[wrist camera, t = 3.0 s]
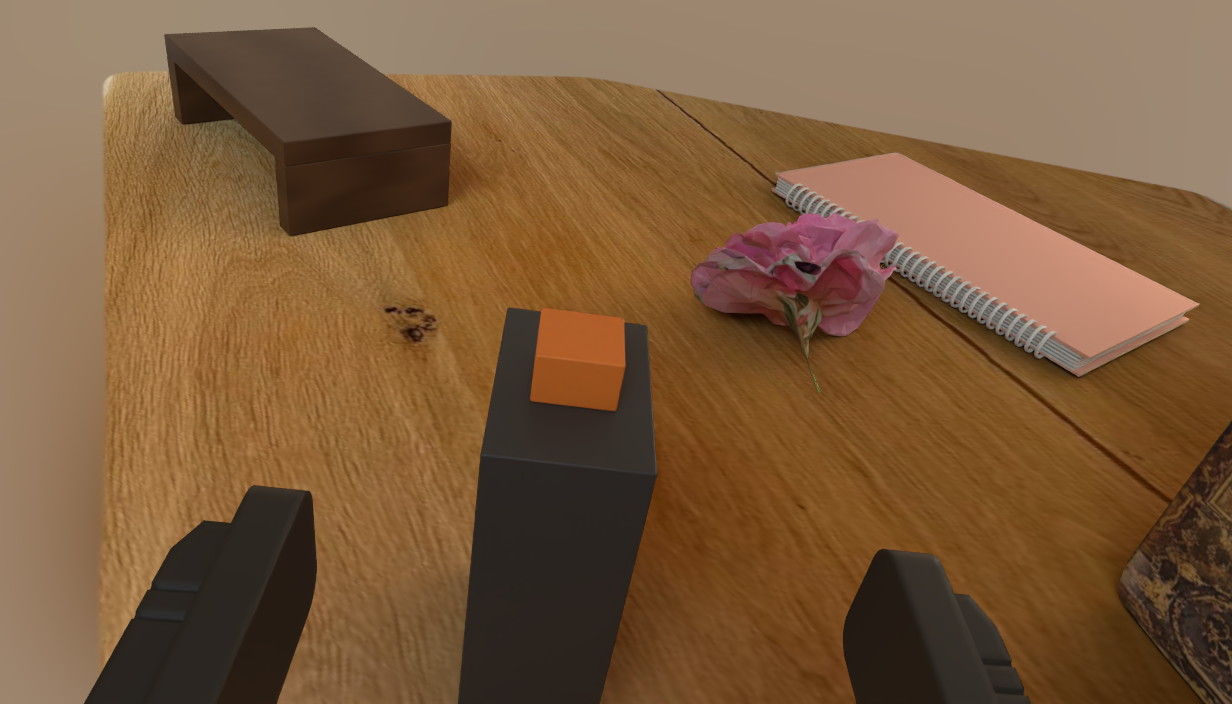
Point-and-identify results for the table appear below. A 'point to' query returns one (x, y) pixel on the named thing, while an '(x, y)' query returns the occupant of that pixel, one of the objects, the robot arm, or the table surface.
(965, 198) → the notebook
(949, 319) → the table surface
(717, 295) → the flower
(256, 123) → the shoe shelf
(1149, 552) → the book
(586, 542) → the tall dark pillar
